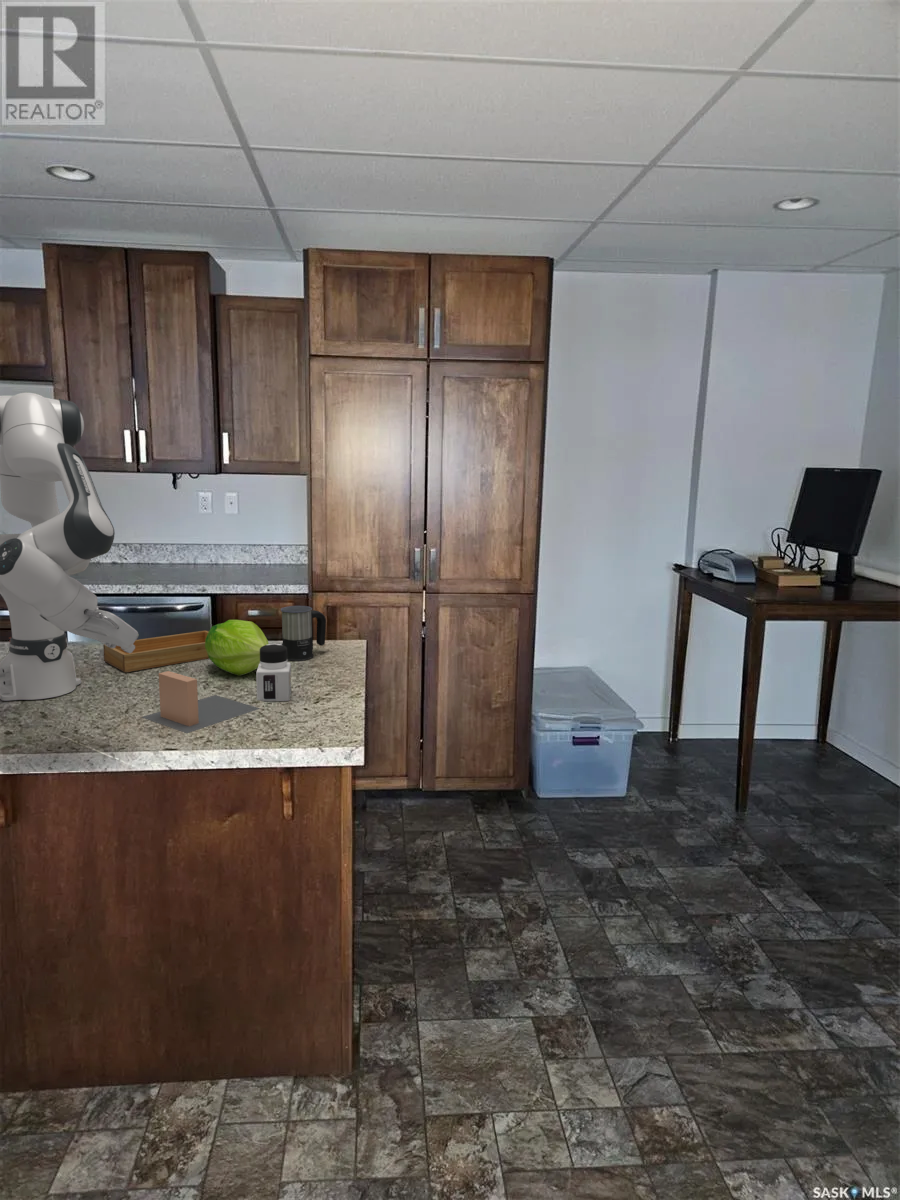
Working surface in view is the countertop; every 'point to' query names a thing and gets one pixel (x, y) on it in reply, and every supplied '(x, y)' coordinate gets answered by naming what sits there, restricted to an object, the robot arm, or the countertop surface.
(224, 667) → the lettuce
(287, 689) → the container
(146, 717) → the mat
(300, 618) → the milk frother
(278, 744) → the countertop surface
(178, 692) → the block
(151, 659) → the tray
